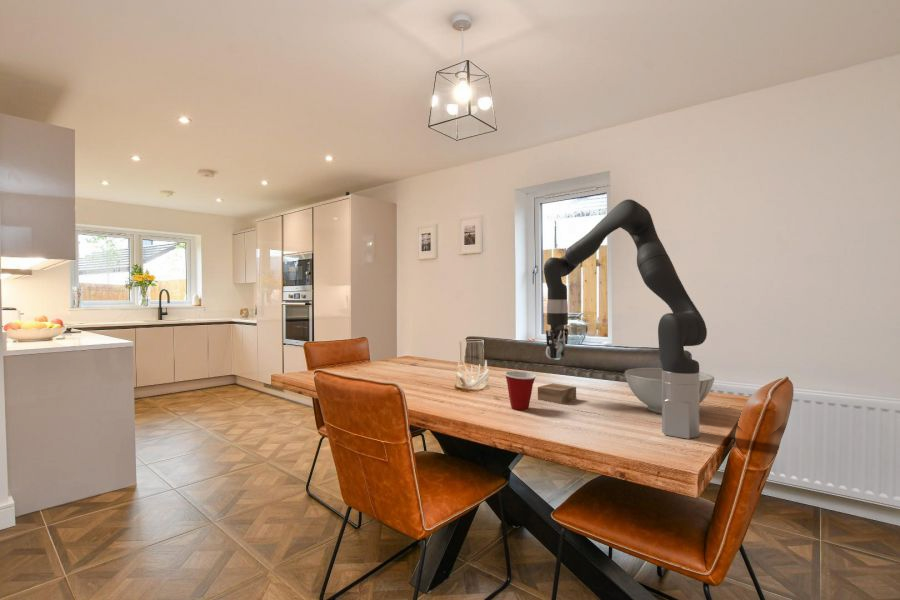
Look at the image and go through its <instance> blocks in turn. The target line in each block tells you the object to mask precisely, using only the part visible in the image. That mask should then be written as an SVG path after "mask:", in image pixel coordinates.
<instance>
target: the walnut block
mask: <svg viewBox="0 0 900 600" xmlns="http://www.w3.org/2000/svg"><path fill="white" fill-rule="evenodd" d="M542 400H543V401H542ZM573 400H574V401H577V386H574V385H566V384H558V383H549V384H544V385H541V386H537V401H542V402H547V401H548V403H552V402H553V404H558V405H563V403H564V404H567V403H570V402H572V401H573ZM574 401H573V402H574ZM566 402H567V403H566Z"/></svg>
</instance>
